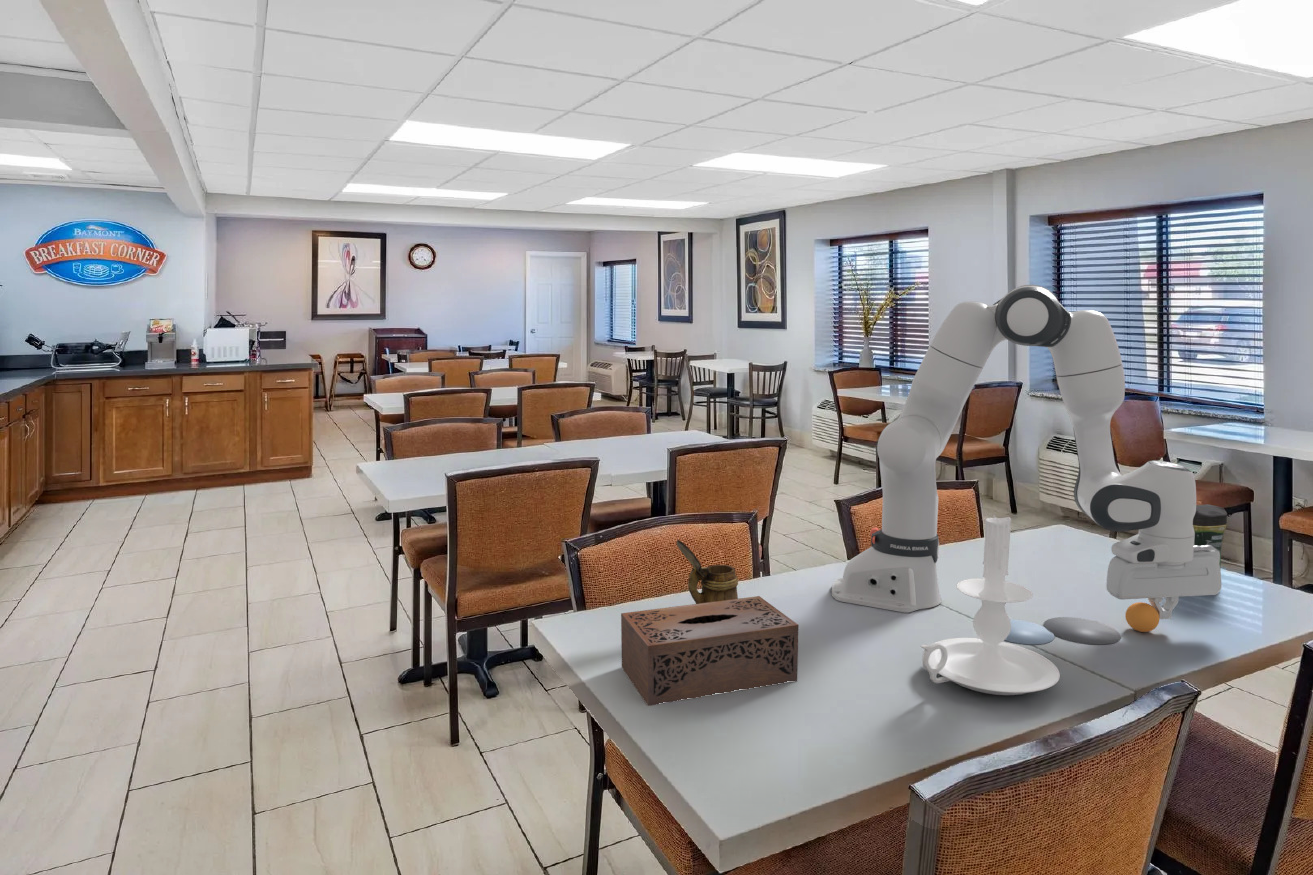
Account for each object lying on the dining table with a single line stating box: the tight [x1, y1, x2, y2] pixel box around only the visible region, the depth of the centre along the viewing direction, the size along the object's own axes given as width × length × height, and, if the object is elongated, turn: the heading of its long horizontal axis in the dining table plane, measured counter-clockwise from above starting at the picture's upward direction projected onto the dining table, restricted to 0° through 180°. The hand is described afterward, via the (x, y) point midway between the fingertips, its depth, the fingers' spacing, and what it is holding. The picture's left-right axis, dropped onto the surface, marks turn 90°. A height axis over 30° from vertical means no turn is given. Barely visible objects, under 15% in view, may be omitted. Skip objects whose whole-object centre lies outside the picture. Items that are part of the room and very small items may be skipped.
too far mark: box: [1004, 618, 1055, 646], centre depth 152 cm, size 12×12×1 cm
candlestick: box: [920, 514, 1061, 696], centre depth 129 cm, size 21×25×28 cm
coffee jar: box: [1193, 503, 1228, 571], centre depth 175 cm, size 10×8×19 cm
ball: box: [1125, 601, 1160, 633], centre depth 152 cm, size 6×6×6 cm
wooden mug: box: [676, 539, 739, 604], centre depth 154 cm, size 9×14×18 cm, turn 112°
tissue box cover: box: [620, 595, 799, 707], centre depth 133 cm, size 26×14×10 cm, turn 109°
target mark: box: [1042, 616, 1122, 646], centre depth 152 cm, size 13×13×1 cm
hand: (1162, 618), depth 152 cm, fingers closed
